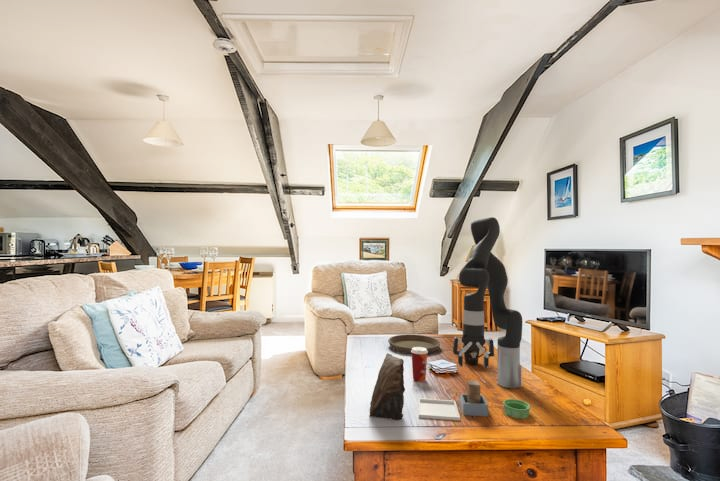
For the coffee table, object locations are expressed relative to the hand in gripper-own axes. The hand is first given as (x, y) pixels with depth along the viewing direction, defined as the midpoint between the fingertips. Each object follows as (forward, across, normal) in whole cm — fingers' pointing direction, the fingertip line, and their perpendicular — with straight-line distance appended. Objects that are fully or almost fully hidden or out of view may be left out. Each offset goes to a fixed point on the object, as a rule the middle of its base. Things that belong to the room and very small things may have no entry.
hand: (473, 366), depth 135 cm
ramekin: (+17, -15, 0) cm, 23 cm away
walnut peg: (+16, 0, 0) cm, 16 cm away
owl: (+17, +32, +5) cm, 36 cm away
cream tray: (+17, +13, +2) cm, 21 cm away
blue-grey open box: (+17, 0, 0) cm, 17 cm away
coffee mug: (+17, -10, -59) cm, 62 cm away
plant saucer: (+17, +21, -84) cm, 88 cm away
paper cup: (+17, +19, -31) cm, 40 cm away
